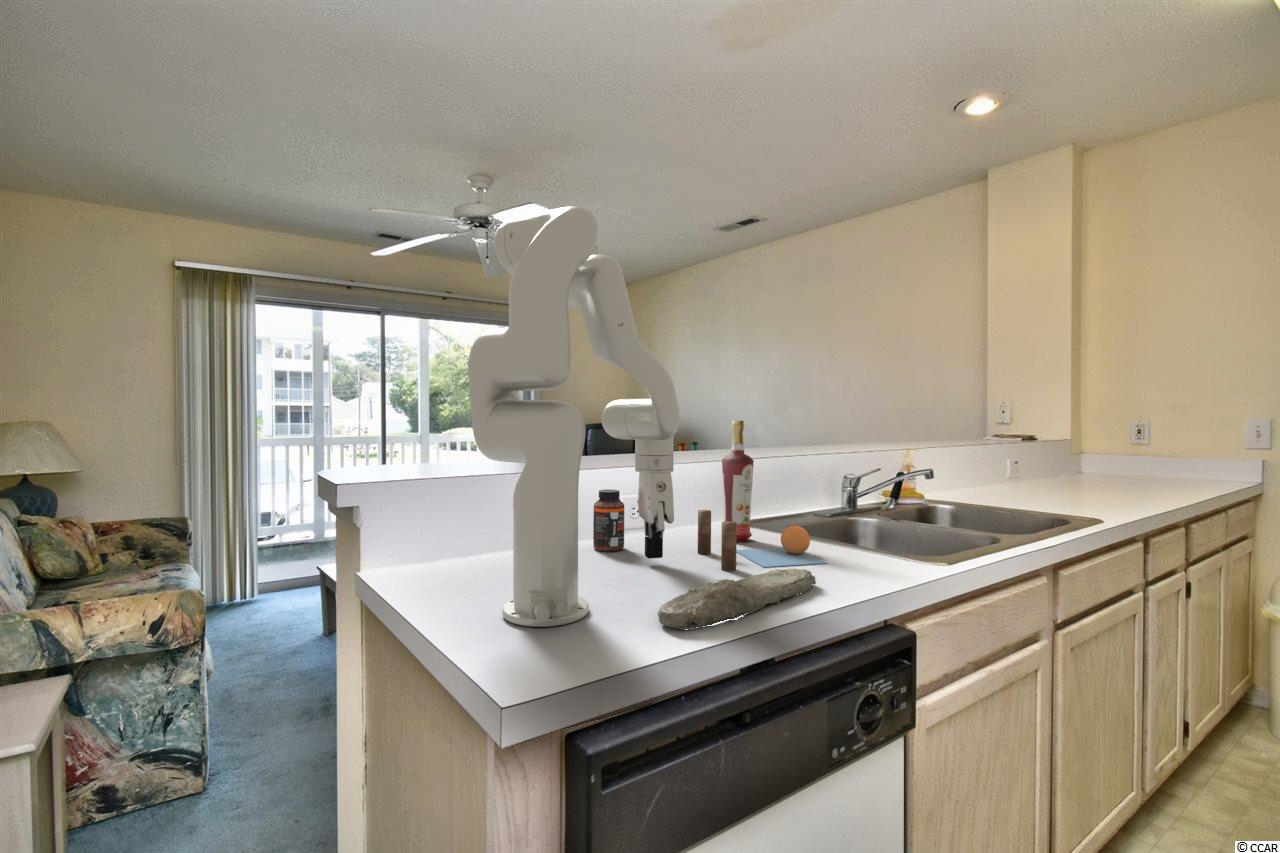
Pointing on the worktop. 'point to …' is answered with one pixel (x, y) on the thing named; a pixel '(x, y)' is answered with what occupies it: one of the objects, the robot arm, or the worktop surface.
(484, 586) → the worktop surface
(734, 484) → the liquor
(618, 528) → the supplement bottle
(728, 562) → the post
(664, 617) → the long grey stone
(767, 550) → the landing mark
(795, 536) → the ball
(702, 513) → the post
